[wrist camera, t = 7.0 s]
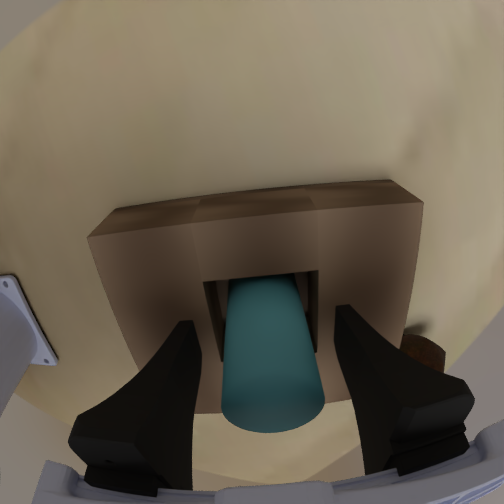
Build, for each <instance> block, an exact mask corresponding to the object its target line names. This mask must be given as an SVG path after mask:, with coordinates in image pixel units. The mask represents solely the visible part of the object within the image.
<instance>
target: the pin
mask: <svg viewBox="0 0 504 504" xmlns="http://www.w3.org/2000/svg"><path fill="white" fill-rule="evenodd" d="M324 404H325V395H324V391H323V386H322V382H321V378H320V374H319V370H318V365H317V361H316V357H315V353H314V349H313V345H312V341H311V337H310V333H309V329H308V325H307V321H306V317H305V313H304V310H303V306H302V302H301V298H300V294H299V290H298V287H297V283H296V279H295V275H294V273H285V274H276V275H266V276H256V277H246V278H236V279H229V285H228V300H227V315H226V330H225V346H224V362H223V380H222V398H221V410H222V413H223V415H224V416H225V418H226V419H227V420H228V421H229V422H231V423H232V424H234V425H235V426H237V427H239V428H242V429H245V430H248V431H253V432H260V433H276V432H283V431H288V430H292V429H295V428H298V427H300V426H302V425H304V424H306V423H308V422H310V421H311V420H312V419H314V418H315V417H316V416H317V415H318V414H319V413H320V412H321V410H322V409H323V406H324Z"/></svg>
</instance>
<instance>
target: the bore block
mask: <svg viewBox="0 0 504 504" xmlns="http://www.w3.org/2000/svg"><path fill="white" fill-rule="evenodd" d="M423 204H424V202H423V201H421V200H420V199H418V198H417V197H416V196H414V195H413V194H411V193H410V192H408V191H407V190H405V189H404V188H402V187H401V186H400V185H398V184H397V183H395V182H394V181H392V180H375V181H356V182H340V183H326V184H313V185H301V186H289V187H278V188H268V189H258V190H248V191H239V192H230V193H222V194H214V195H206V196H198V197H190V198H183V199H176V200H169V201H162V202H155V203H148V204H142V205H135V206H129V207H123V208H117V209H115V210H114V211H113V212H112V213H111V214H110V215H108V216H107V217H106V218H105V219H104V220H103V221H102V222H101V223H100V224H99V225H98V226H97V227H96V228H95V229H94V230H93V231H92V233H91V234H90V235H89V236H88V237H87V240H88V243H89V246H90V249H91V252H92V255H93V258H94V261H95V264H96V267H97V270H98V273H99V275H100V278H101V281H102V284H103V286H104V289H105V292H106V294H107V297H108V300H109V302H110V305H111V307H112V310H113V312H114V315H115V317H116V320H117V322H118V324H119V327H120V329H121V331H122V334H123V336H124V338H125V341H126V343H127V345H128V347H129V350H130V352H131V354H132V356H133V358H134V360H135V363H136V365H137V367H138V369H139V371H140V370H141V369H142V368H143V367H144V366H145V365H146V364H147V363H148V361H149V360H150V359H151V358H152V357H153V356H154V354H155V353H156V352H157V351H158V349H159V348H160V347H161V345H162V344H163V343H164V341H165V340H166V339H167V337H168V336H169V334H170V333H171V332H172V330H173V329H174V327H175V326H176V325H177V323H178V322H179V321H183V320H193V322H194V326H195V329H196V333H197V337H198V340H199V344H200V347H201V351H202V371H201V378H200V384H199V390H198V395H197V401H196V406H195V412H194V414H209V413H222V410H221V398H222V380H223V362H224V346H225V330H226V315H227V300H228V285H229V279H236V278H246V277H256V276H266V275H276V274H285V273H294V275H295V279H296V283H297V287H298V290H299V294H300V298H301V302H302V306H303V310H304V313H305V317H306V321H307V325H308V329H309V333H310V337H311V341H312V345H313V349H314V353H315V357H316V361H317V365H318V370H319V374H320V378H321V382H322V386H323V391H324V395H325V403H331V402H338V401H344V400H349V399H351V396H350V393H349V391H348V388H347V385H346V382H345V379H344V376H343V374H342V371H341V368H340V365H339V362H338V359H337V355H336V350H335V345H334V341H333V340H334V325H335V307H336V306H338V305H345V304H350V305H351V306H352V307H353V308H354V309H355V310H356V311H357V312H358V313H359V314H360V315H361V316H362V317H363V318H364V319H365V320H366V321H367V322H368V323H369V324H370V325H371V326H372V327H373V328H374V329H375V330H376V331H377V332H378V333H379V334H381V335H382V336H383V337H384V338H385V339H386V340H388V341H389V342H390V343H391V344H393V345H394V346H395V347H397V348H398V349H399V348H400V344H401V340H402V336H403V331H404V327H405V322H406V318H407V313H408V308H409V303H410V298H411V293H412V288H413V282H414V276H415V270H416V263H417V257H418V250H419V242H420V234H421V225H422V215H423Z"/></svg>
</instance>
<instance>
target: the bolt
mask: <svg viewBox="0 0 504 504" xmlns="http://www.w3.org/2000/svg"><path fill="white" fill-rule="evenodd" d="M399 349H400V350H401V351H403V352H404V353H405V354H407V355H409V356H410V357H412V358H413V359H415V360H417V361H419V362H421V363H423V364H424V365H426V366H428V367H431V368H433V369H435V370H437V371H440V372H442V373H444V366H445V355H446V352H445V351H444V350H443V349H442V348H441V347H440V346H438V345H437V344H436V343H434V342H433V341H431V340H429V339H427V338H425V337H422V336H419V335H413V334H411V335H403V336H402V340H401V344H400V348H399Z"/></svg>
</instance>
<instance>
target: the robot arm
mask: <svg viewBox="0 0 504 504" xmlns="http://www.w3.org/2000/svg"><path fill="white" fill-rule="evenodd" d="M333 341H334V345H335V350H336V355H337V359H338V362H339V365H340V368H341V371H342V374H343V376H344V379H345V382H346V385H347V388H348V391H349V393H350V396H351V399H352V403H353V406H354V410H355V415H356V420H357V425H358V430H359V435H360V441H361V447H362V453H363V461H364V469H365V476H361V477H356V478H351V479H346V480H341V481H335V482H329V483H328V482H324V481H304V482H295V483H286V484H275V485H261V486H240V487H239V486H238V487H229V488H224V489H222V490H219V491H193V489H192V488H193V485H192V435H193V419H194V412H195V406H196V401H197V395H198V390H199V384H200V378H201V371H202V351H201V347H200V344H199V340H198V337H197V333H196V329H195V326H194V322H193V320H183V321H179V322H178V323H177V325H176V326H175V327H174V329H173V330H172V332H171V333H170V334H169V336H168V337H167V339H166V340H165V341H164V343H163V344H162V345H161V347H160V348H159V349H158V351H157V352H156V353H155V354H154V356H153V357H152V358H151V359H150V360H149V361H148V363H147V364H146V365H145V366H144V367H143V368H142V369H141V370H140V372H139V373H138V374H137V375H136V376H134V377H133V378H132V379H131V380H130V381H129V382H128V383H127V384H125V385H124V386H123V387H122V388H121V389H119V390H118V391H117V392H116V393H114V394H113V395H112V396H110V397H109V398H107V399H106V400H104V401H103V402H101V403H100V404H98V405H96V406H95V407H93V408H91V409H89V410H87V411H85V412H83V413H82V414H80V415H78V416H77V418H76V420H75V423H74V425H73V428H72V431H71V433H70V436H69V439H68V443H69V446H70V448H71V449H72V450H73V451H74V452H75V453H76V454H77V455H78V456H79V457H80V458H81V459H82V460H83V461H84V462H85V463H86V464H87V469H86V472H85V476H82V475H79V474H78V473H77V472H76V471H75V470H74V469H73V468H71V467H69V466H67V465H64V464H60V463H56V462H53V461H50V460H46V462H45V465H44V467H43V470H42V473H41V476H40V479H39V482H38V485H37V488H36V491H35V494H34V497H33V501H32V504H469V503H471V502H473V501H475V500H477V499H478V498H480V497H482V496H484V495H486V494H488V493H490V492H492V491H493V490H495V489H497V488H499V487H500V486H501V485H502V484H503V483H504V419H503V420H501V421H499V422H497V423H494V424H492V425H491V426H488V427H486V428H484V429H483V430H482V431H480V432H479V433H478V435H477V436H476V438H475V439H474V440H473V441H471V442H468V440H467V438H466V436H465V434H464V432H465V431H466V427H465V425H464V420H465V419H466V417H467V416H468V414H469V412H470V411H471V409H472V407H473V405H474V401H475V398H474V396H473V394H472V392H471V391H470V389H469V387H468V385H467V384H466V382H465V381H464V380H462V379H459V378H456V377H453V376H450V375H447V374H444V373H442V372H440V371H437V370H435V369H433V368H431V367H428V366H426V365H424V364H423V363H421V362H419V361H417V360H415V359H413V358H412V357H410V356H409V355H407V354H405V353H404V352H403V351H401V350H400V349H398V348H397V347H395V346H394V345H393V344H391V343H390V342H389V341H388V340H386V339H385V338H384V337H383V336H382V335H381V334H379V333H378V332H377V331H376V330H375V329H374V328H373V327H372V326H371V325H370V324H369V323H368V322H367V321H366V320H365V319H364V318H363V317H362V316H361V315H360V314H359V313H358V312H357V311H356V310H355V309H354V308H353V307H352V306H351V305H350V304H345V305H338V306H336V307H335V325H334V340H333ZM57 363H58V359H57V358H56V356H55V354H54V352H53V351H52V349H51V347H50V346H49V344H48V342H47V340H46V338H45V337H44V335H43V333H42V331H41V329H40V327H39V325H38V323H37V322H36V320H35V318H34V316H33V314H32V312H31V310H30V308H29V306H28V303H27V301H26V299H25V297H24V295H23V293H22V291H21V288H20V286H19V284H18V282H17V280H16V278H15V277H14V276H12V275H6V276H0V417H1V415H2V413H3V411H4V409H5V407H6V405H7V403H8V401H9V400H10V398H11V396H12V394H13V392H14V390H15V389H16V387H17V385H18V383H19V382H20V380H21V378H22V376H23V375H24V373H25V371H26V370H27V368H28V366H29V364H40V365H50V366H56V365H57Z"/></svg>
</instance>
